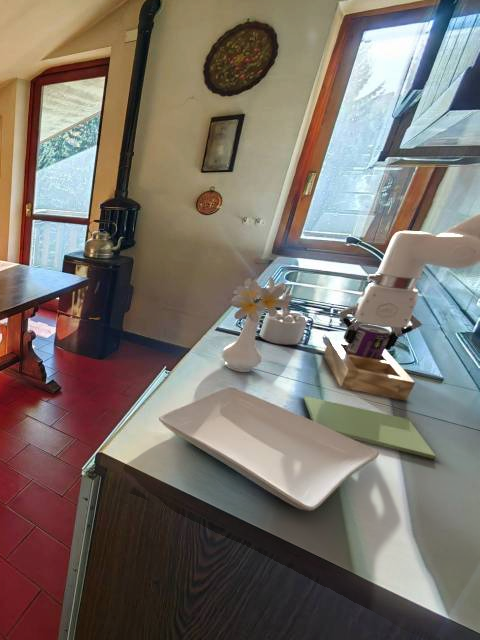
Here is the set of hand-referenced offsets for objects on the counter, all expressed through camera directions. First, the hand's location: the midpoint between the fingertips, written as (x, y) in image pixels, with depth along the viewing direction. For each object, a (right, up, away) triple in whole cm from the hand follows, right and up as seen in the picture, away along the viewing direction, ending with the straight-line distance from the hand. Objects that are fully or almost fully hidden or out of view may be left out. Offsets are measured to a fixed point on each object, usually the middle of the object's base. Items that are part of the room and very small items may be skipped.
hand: (366, 344), depth 106 cm
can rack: (-3, -8, -1) cm, 9 cm away
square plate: (-51, -20, -29) cm, 62 cm away
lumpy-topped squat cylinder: (-6, +2, +22) cm, 23 cm away
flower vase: (-33, -7, +2) cm, 34 cm away
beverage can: (0, -7, +3) cm, 7 cm away
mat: (-23, -17, -22) cm, 36 cm away
